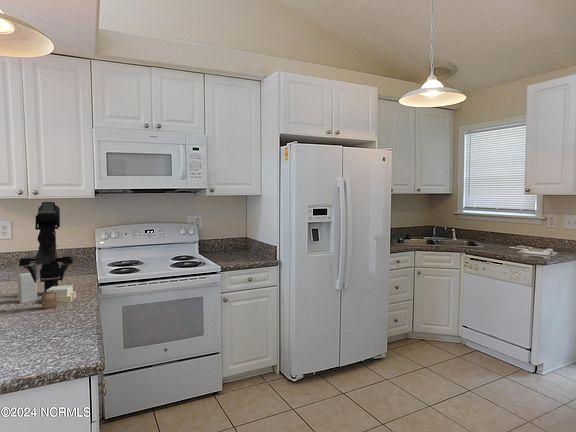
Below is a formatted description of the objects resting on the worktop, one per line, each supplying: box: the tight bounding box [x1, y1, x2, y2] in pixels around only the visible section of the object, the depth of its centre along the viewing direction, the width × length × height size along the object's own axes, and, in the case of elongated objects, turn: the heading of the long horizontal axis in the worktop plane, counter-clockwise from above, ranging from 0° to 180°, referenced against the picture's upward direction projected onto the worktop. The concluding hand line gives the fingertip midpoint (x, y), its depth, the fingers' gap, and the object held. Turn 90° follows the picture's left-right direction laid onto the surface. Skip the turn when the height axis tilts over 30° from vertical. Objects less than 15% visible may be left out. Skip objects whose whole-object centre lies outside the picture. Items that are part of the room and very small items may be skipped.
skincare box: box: [17, 272, 38, 304], centre depth 165 cm, size 6×4×12 cm
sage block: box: [46, 285, 74, 297], centre depth 167 cm, size 8×8×3 cm
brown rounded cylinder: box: [41, 292, 58, 311], centre depth 154 cm, size 5×5×6 cm
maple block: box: [56, 290, 77, 304], centre depth 167 cm, size 10×10×3 cm
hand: (48, 281), depth 154 cm, fingers open, 9 cm apart
